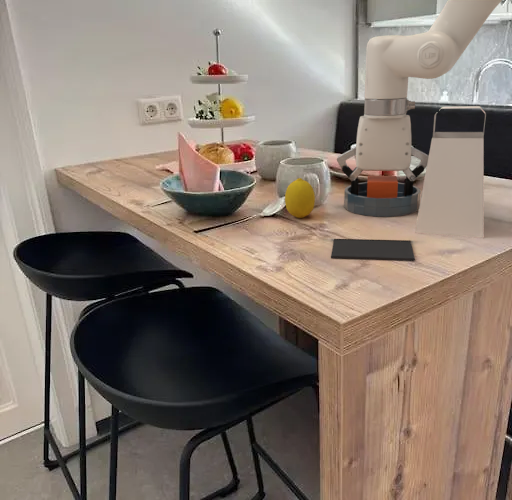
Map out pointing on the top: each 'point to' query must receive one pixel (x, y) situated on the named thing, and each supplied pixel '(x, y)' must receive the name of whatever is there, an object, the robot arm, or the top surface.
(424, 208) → the grater
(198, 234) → the top surface
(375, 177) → the cube
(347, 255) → the mat
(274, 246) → the top surface
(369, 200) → the bowl
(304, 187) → the lemon
